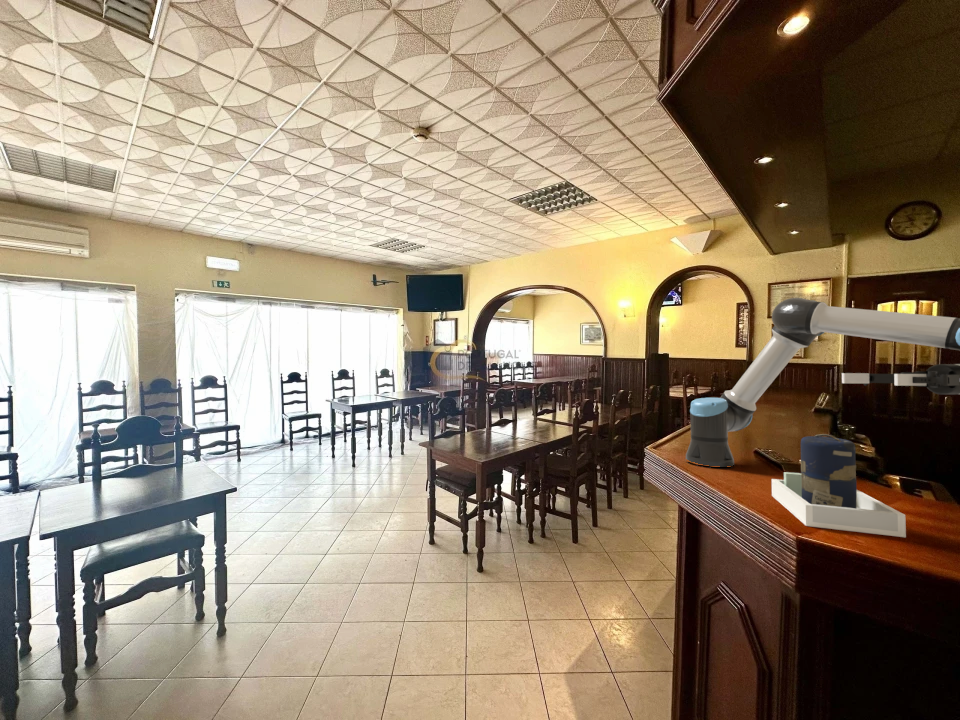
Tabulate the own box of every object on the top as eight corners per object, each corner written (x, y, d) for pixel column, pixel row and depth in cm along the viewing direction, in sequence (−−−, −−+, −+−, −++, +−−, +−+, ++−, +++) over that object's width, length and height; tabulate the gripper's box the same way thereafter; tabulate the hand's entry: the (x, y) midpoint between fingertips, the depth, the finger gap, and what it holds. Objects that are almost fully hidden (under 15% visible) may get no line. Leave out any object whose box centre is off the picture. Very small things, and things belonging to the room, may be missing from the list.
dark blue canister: (834, 506, 94) (832, 431, 95) (869, 521, 85) (867, 438, 86) (791, 505, 95) (790, 430, 96) (822, 520, 86) (820, 437, 86)
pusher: (784, 495, 102) (783, 472, 102) (846, 501, 98) (846, 476, 98) (786, 497, 101) (786, 473, 101) (849, 503, 96) (849, 478, 96)
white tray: (771, 495, 106) (771, 478, 106) (849, 503, 100) (848, 485, 100) (806, 525, 85) (805, 504, 85) (905, 537, 79) (905, 514, 80)
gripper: (1023, 398, 85) (923, 397, 86) (902, 391, 110) (825, 391, 111) (1022, 363, 85) (922, 363, 86) (901, 364, 110) (824, 364, 111)
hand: (867, 378), depth 98 cm, fingers open, 13 cm apart
